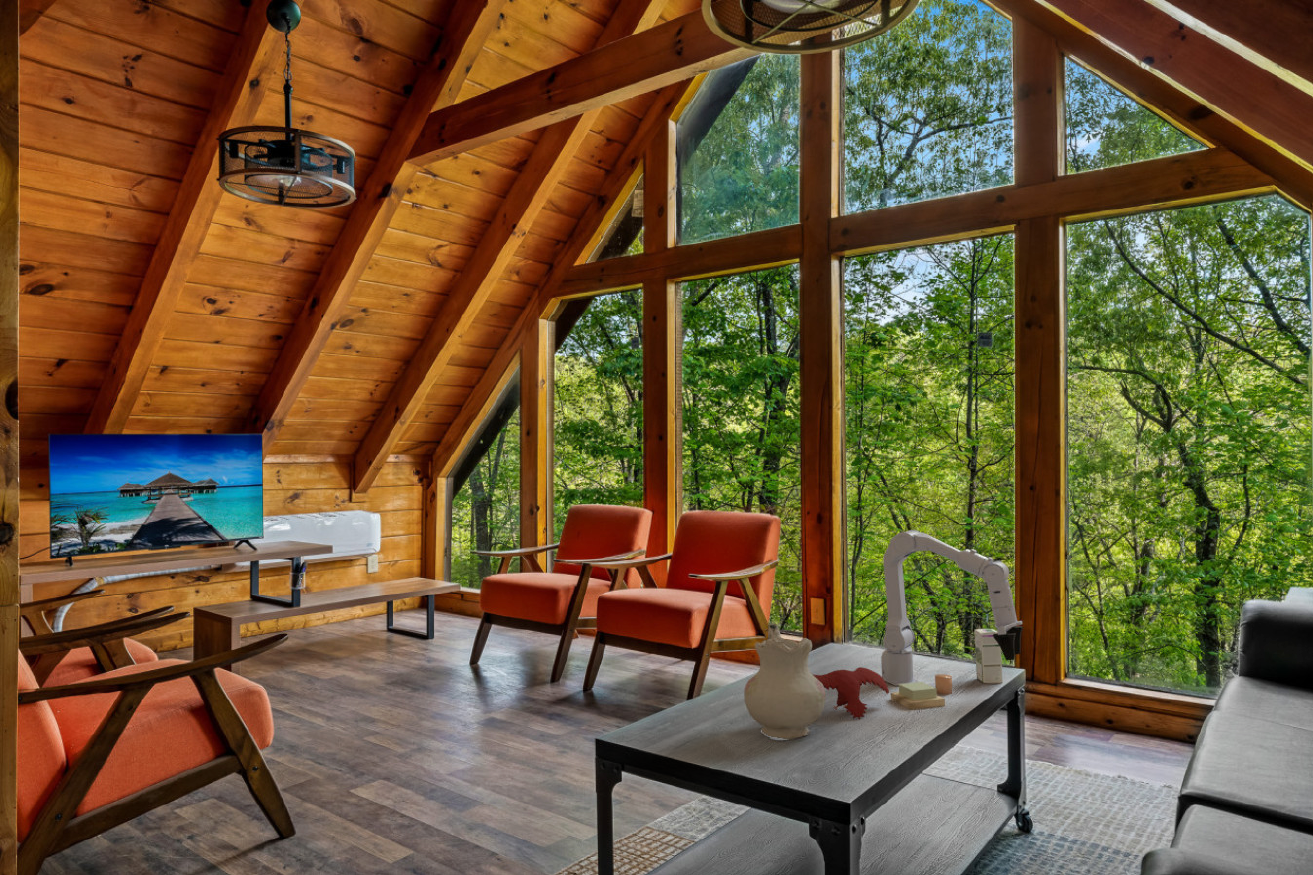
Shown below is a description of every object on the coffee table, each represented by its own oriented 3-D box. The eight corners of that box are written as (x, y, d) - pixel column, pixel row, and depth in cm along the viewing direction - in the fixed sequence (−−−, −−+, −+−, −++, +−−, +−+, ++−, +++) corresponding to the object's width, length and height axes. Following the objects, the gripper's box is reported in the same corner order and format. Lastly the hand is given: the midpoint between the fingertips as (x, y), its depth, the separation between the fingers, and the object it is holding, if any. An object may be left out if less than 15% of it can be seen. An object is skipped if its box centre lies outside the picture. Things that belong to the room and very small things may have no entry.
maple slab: (891, 701, 233) (890, 692, 233) (923, 698, 235) (923, 689, 235) (911, 712, 223) (910, 702, 223) (945, 708, 226) (944, 698, 226)
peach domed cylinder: (932, 691, 240) (931, 675, 240) (946, 689, 241) (945, 673, 241) (941, 695, 236) (940, 678, 236) (955, 693, 237) (954, 677, 237)
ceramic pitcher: (731, 727, 216) (721, 628, 215) (799, 711, 222) (790, 615, 222) (770, 754, 195) (759, 645, 195) (844, 736, 202) (834, 630, 202)
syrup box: (1003, 683, 246) (1001, 632, 247) (982, 683, 246) (980, 632, 247) (995, 678, 252) (993, 628, 252) (975, 678, 252) (973, 628, 252)
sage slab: (898, 693, 232) (898, 684, 232) (921, 691, 234) (921, 681, 234) (913, 700, 225) (912, 690, 225) (936, 697, 227) (936, 688, 227)
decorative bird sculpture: (896, 724, 225) (872, 673, 235) (912, 706, 219) (886, 654, 229) (801, 738, 215) (780, 685, 225) (814, 720, 209) (792, 666, 219)
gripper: (1012, 609, 226) (1023, 661, 225) (1023, 601, 238) (1034, 650, 237) (985, 611, 230) (995, 663, 228) (997, 603, 242) (1007, 652, 240)
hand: (1013, 656), depth 233 cm, fingers open, 7 cm apart
